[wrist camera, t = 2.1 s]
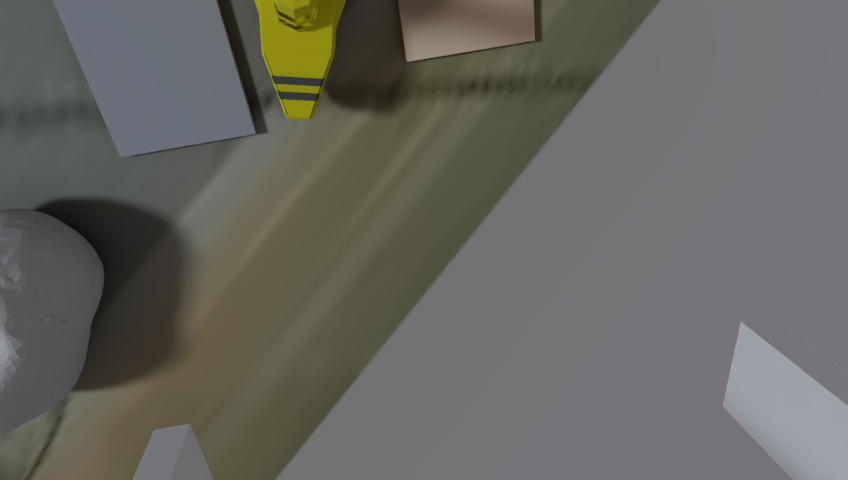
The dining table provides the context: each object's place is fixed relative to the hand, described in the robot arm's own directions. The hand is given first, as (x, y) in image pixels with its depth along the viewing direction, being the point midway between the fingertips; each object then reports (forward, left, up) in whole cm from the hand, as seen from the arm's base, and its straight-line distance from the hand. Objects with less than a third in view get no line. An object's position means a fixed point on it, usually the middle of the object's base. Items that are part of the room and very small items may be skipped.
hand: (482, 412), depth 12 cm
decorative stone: (+7, -28, -28) cm, 40 cm away
